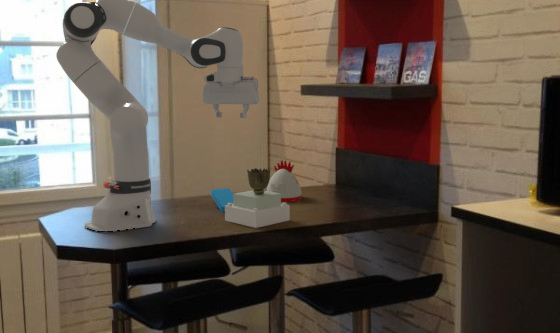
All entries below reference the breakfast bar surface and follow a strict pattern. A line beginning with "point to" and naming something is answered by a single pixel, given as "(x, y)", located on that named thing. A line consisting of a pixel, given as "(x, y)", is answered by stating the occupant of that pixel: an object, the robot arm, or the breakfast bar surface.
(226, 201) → the blue long block
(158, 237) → the breakfast bar surface
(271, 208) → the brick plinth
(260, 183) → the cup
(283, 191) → the kitchen timer
